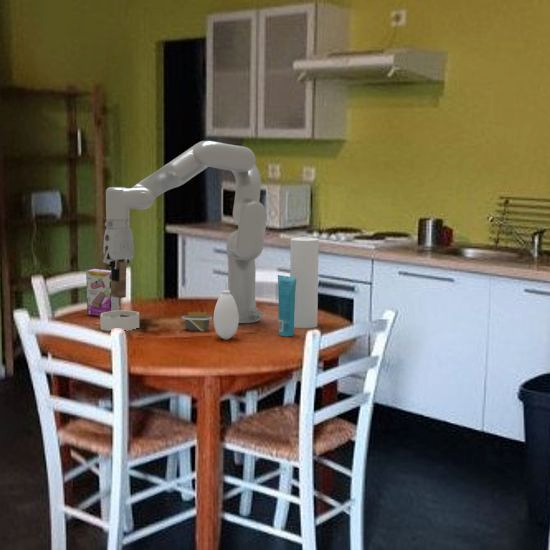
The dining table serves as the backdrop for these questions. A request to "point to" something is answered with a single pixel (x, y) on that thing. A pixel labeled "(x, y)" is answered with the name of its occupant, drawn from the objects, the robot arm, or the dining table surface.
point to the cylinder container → (305, 280)
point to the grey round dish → (119, 320)
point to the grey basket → (197, 321)
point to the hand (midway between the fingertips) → (118, 279)
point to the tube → (286, 304)
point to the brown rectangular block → (119, 282)
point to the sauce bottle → (226, 315)
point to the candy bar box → (100, 293)
